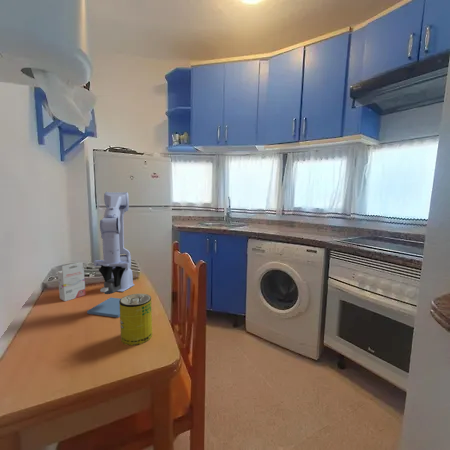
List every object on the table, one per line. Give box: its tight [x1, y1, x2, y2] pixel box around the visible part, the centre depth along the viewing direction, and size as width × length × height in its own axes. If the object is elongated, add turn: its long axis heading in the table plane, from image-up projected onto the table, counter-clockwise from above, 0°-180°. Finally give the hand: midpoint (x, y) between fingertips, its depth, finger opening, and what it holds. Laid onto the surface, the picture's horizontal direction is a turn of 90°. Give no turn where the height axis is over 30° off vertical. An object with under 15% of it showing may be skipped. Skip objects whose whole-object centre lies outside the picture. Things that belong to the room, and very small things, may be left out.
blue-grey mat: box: [86, 297, 121, 319], centre depth 101 cm, size 13×13×1 cm
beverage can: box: [119, 293, 153, 346], centre depth 80 cm, size 9×9×12 cm
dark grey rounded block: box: [100, 278, 121, 295], centre depth 99 cm, size 9×3×4 cm, turn 166°
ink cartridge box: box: [57, 261, 86, 302], centre depth 111 cm, size 9×5×15 cm, turn 143°
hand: (113, 285), depth 100 cm, fingers closed on dark grey rounded block, 3 cm apart
